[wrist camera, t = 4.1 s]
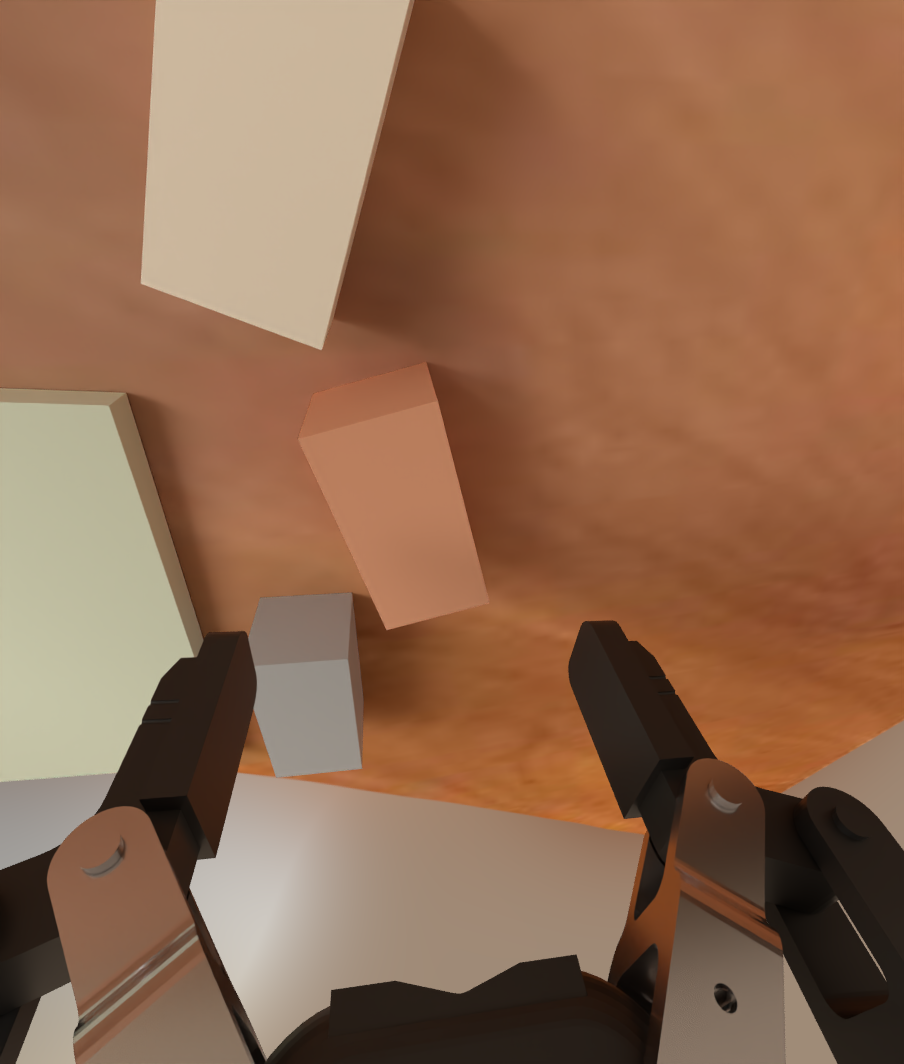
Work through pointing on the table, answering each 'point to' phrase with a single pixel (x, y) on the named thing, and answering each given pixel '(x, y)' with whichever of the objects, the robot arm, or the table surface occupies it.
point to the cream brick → (264, 151)
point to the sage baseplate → (81, 584)
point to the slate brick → (308, 683)
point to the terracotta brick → (395, 494)
